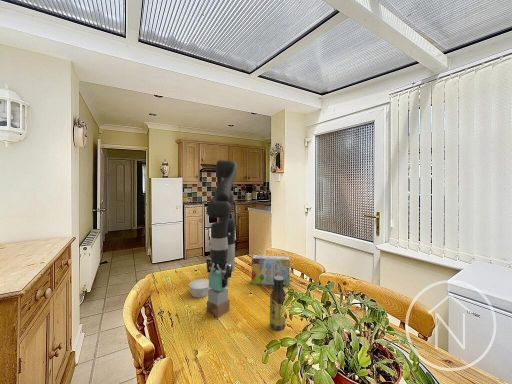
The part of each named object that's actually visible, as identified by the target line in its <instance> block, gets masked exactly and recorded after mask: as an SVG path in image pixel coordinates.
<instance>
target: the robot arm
mask: <svg viewBox="0 0 512 384" xmlns="http://www.w3.org/2000/svg"><path fill="white" fill-rule="evenodd" d="M215 165H216V166H215V172H216V175H215V176H216V182H217V185H216V188H215V191H214V195H213V196H212V197H211V199H210V201H209V202H208V204H207V206H206V214H207V215H208V217H210V218H212V219H213V218H216V219H217V218H218V221H217V222H213V223H211V226H210V244H209V245H210V246H209V249H210V252H209V253H210V254H209V256H210V257H209V258H206V260H205V262H206V271H207V273H208V274H210V273H213V272H214V271H217V270H218V271H219V273H220V274H221V276H222V287H223V288H224V287H226V286H227V279H228V280H229V279H230V278H232V273H233V272H234V271H235V269H236V268H235V265H236V263H235V260H236V259H235V258H236V257H235V256H236V254H235V253H236V252H235V251H236V248H235V247H236V245H235V244H236V220H235V218H231V213H232V208H233V206H234V197H235V195H234V193H233V192H232V188H233V185H234V183H235V179H236V177H237V173H238V164H237V162H236V161H234V160H217V162H216V164H215ZM222 271H223V272H222ZM224 274H225V276H224ZM226 288H227V287H226Z"/></svg>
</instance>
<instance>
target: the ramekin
mask: <svg viewBox="0 0 512 384" xmlns="http://www.w3.org/2000/svg"><path fill="white" fill-rule="evenodd" d="M188 287H189V291H190V295H191V296H192V297H193V298H205V297H208V290H209V289H211V288H209V279H206V278H198V279H194V280H192V281H190V283H189V285H188Z"/></svg>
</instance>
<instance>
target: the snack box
mask: <svg viewBox="0 0 512 384" xmlns="http://www.w3.org/2000/svg"><path fill="white" fill-rule="evenodd" d="M290 269H291V258H290V256H277V255H275V256H273V255H254V254H253V255H252V257H251V284H252V285H265V286H267V285H268V286H274V281H273V279H274V277H275V276H282V277H283V278H284V282H283V285H284V286H283V287H290V278H291V277H290V276H291V274H290V272H291V271H290Z"/></svg>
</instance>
